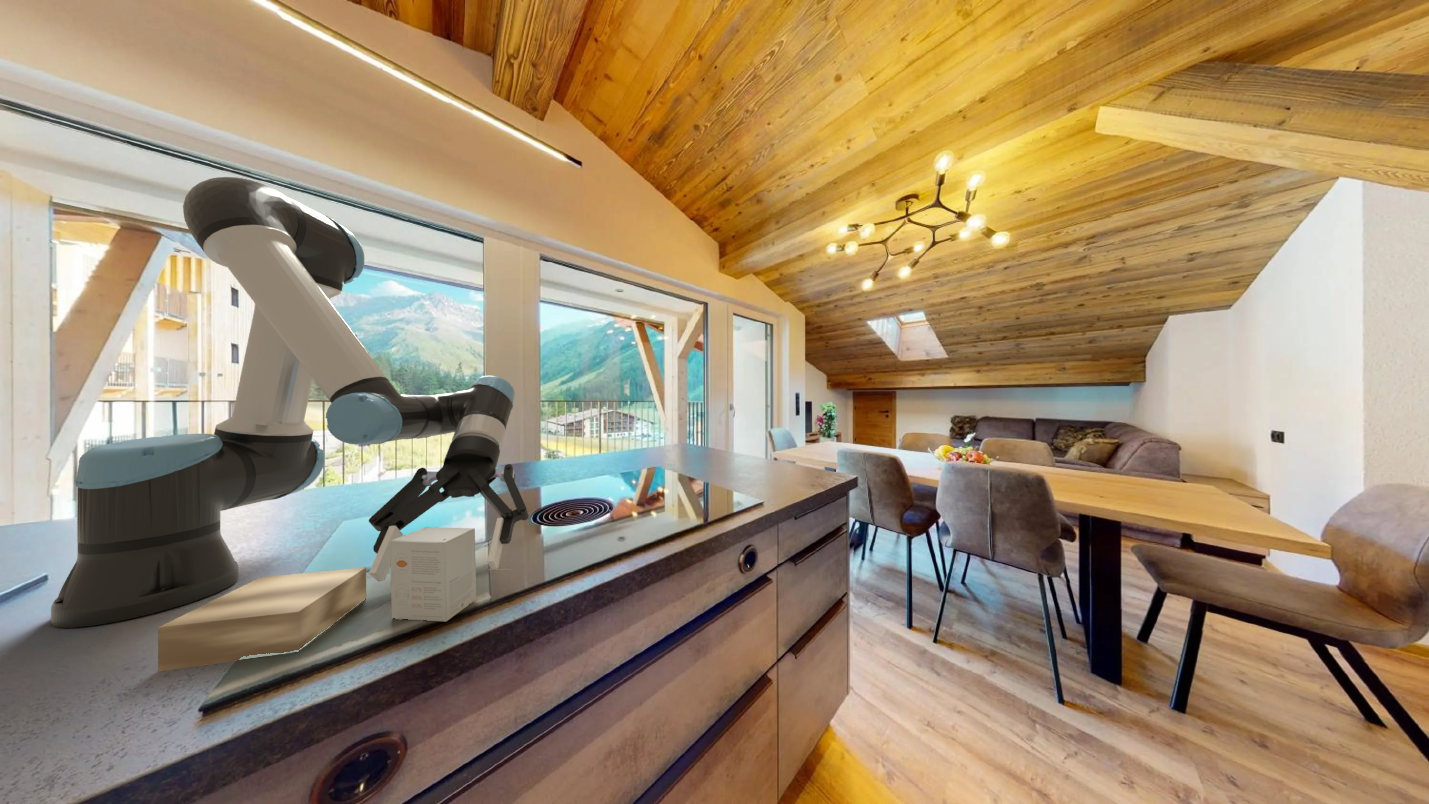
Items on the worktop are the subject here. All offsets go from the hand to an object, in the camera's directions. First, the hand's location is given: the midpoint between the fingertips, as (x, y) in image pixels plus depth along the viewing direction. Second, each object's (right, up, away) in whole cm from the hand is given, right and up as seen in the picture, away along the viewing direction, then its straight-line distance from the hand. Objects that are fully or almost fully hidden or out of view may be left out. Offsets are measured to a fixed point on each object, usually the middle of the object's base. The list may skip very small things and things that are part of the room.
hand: (436, 571), depth 51 cm
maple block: (-17, -6, -4) cm, 19 cm away
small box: (-1, -6, +1) cm, 6 cm away
